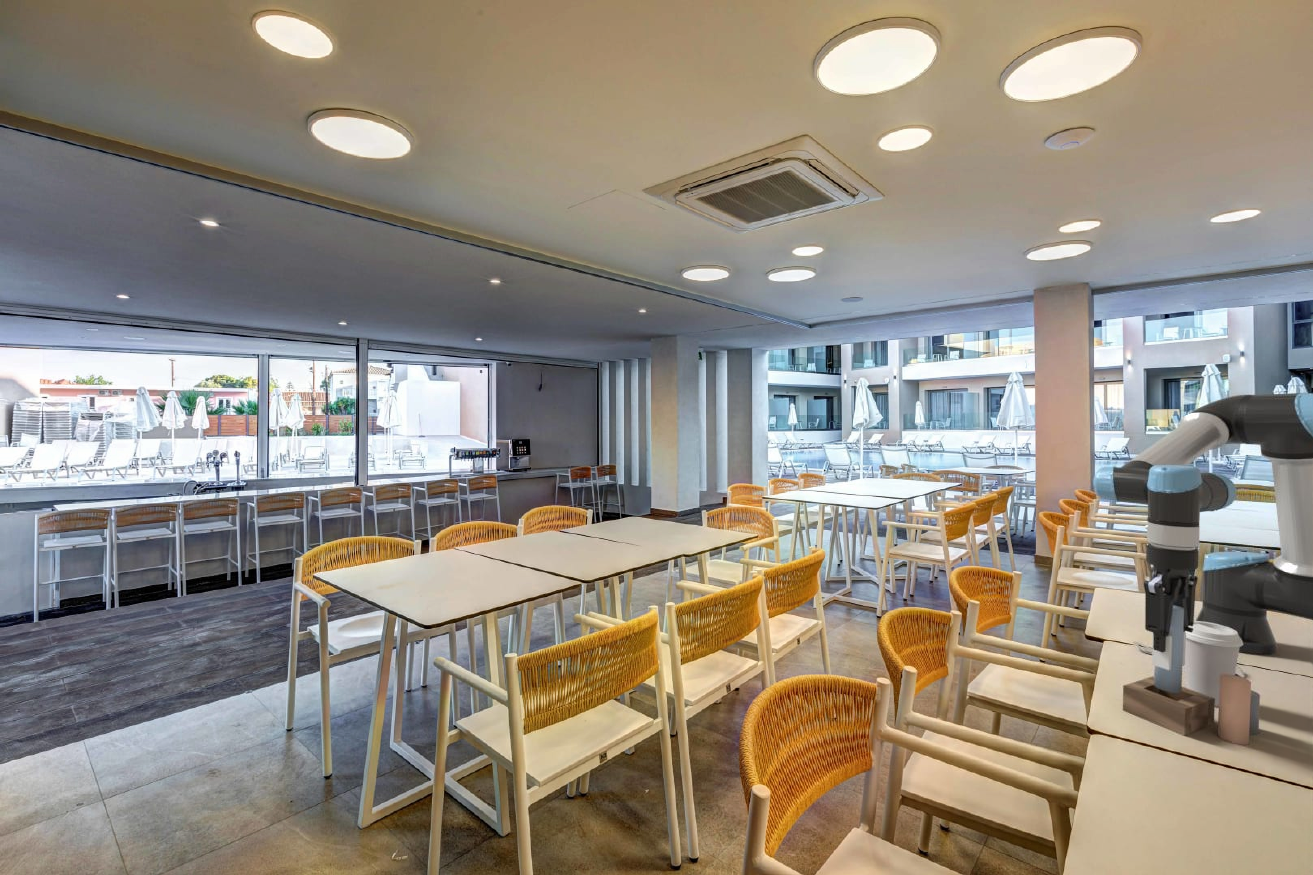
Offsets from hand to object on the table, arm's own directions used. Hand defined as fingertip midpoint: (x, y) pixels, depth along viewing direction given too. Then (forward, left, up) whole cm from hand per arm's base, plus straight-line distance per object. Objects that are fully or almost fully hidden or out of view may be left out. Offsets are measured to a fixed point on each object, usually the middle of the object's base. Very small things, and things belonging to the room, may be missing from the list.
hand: (1168, 664), depth 112 cm
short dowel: (-8, +8, -10) cm, 15 cm away
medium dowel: (-2, +9, -10) cm, 14 cm away
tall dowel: (0, 0, -5) cm, 5 cm away
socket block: (0, 0, -10) cm, 10 cm away
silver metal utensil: (-34, -12, -11) cm, 37 cm away
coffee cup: (-16, -1, -11) cm, 19 cm away
